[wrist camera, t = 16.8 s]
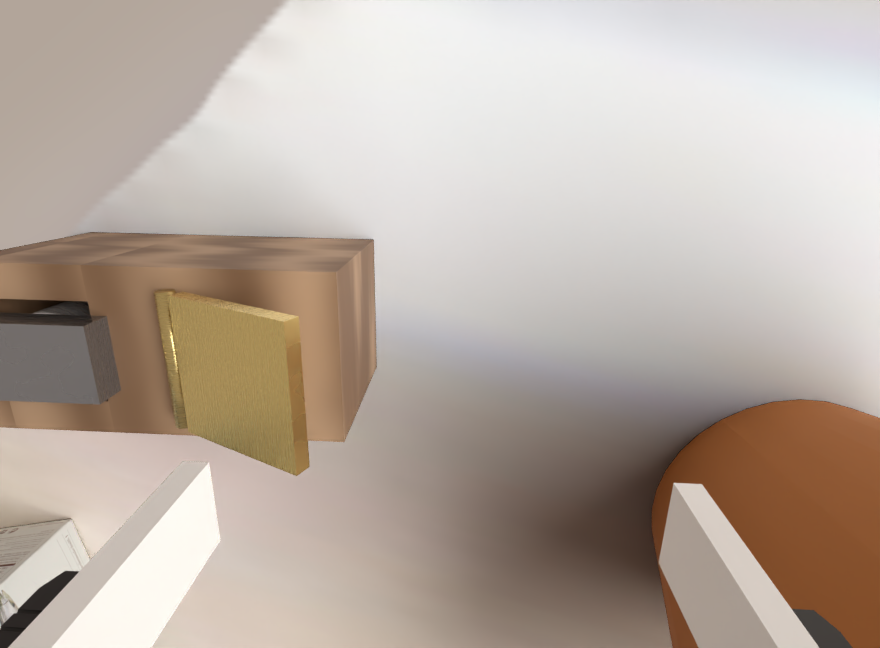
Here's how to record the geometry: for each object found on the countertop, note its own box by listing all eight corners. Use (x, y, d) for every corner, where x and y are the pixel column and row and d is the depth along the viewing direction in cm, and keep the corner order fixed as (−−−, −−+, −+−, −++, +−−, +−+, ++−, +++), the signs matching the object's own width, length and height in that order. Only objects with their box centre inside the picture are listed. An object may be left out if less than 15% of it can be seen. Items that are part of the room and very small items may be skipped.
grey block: (111, 327, 35) (-39, 398, 25) (100, 271, 34) (-63, 321, 24) (209, 330, 35) (100, 404, 25) (202, 274, 34) (83, 326, 23)
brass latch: (171, 425, 26) (295, 476, 22) (149, 291, 23) (282, 321, 20) (187, 418, 26) (310, 466, 23) (167, 287, 24) (299, 316, 20)
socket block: (115, 357, 37) (-7, 426, 27) (91, 232, 34) (-55, 261, 24) (376, 366, 36) (344, 441, 26) (373, 239, 33) (336, 272, 24)
